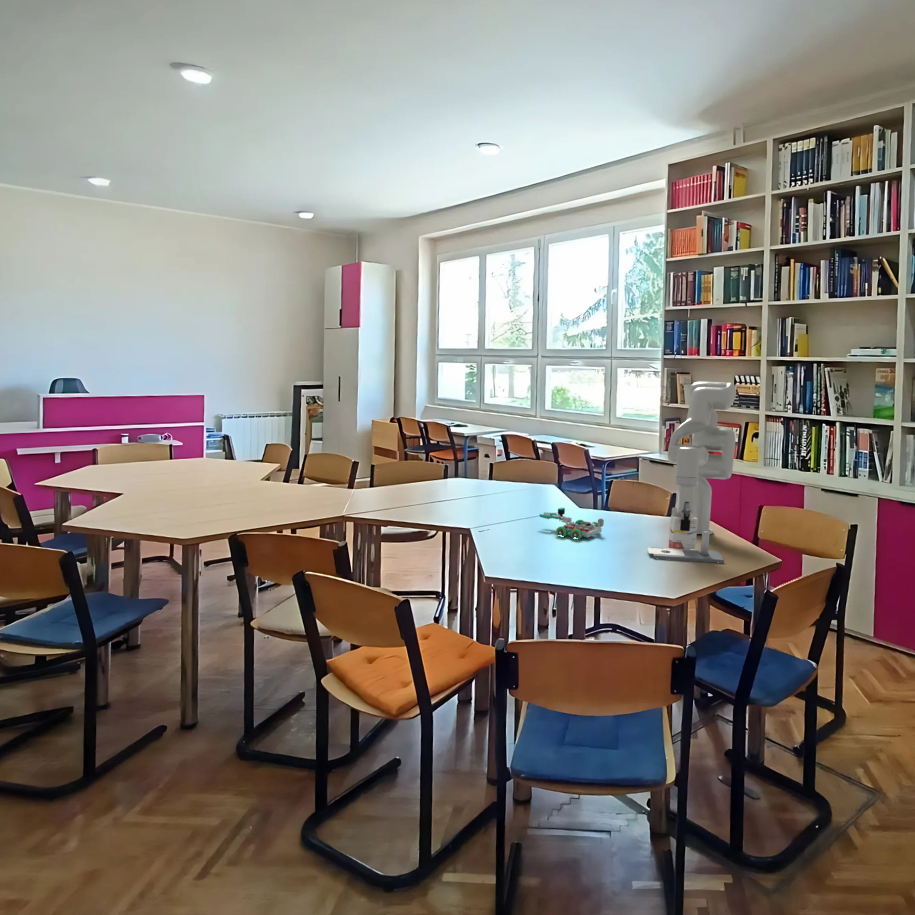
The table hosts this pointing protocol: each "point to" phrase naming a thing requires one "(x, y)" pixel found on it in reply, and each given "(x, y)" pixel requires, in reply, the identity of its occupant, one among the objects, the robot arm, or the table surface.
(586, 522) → the robot kit
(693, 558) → the plate
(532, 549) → the table surface
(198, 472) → the table surface
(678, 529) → the ink cartridge box
